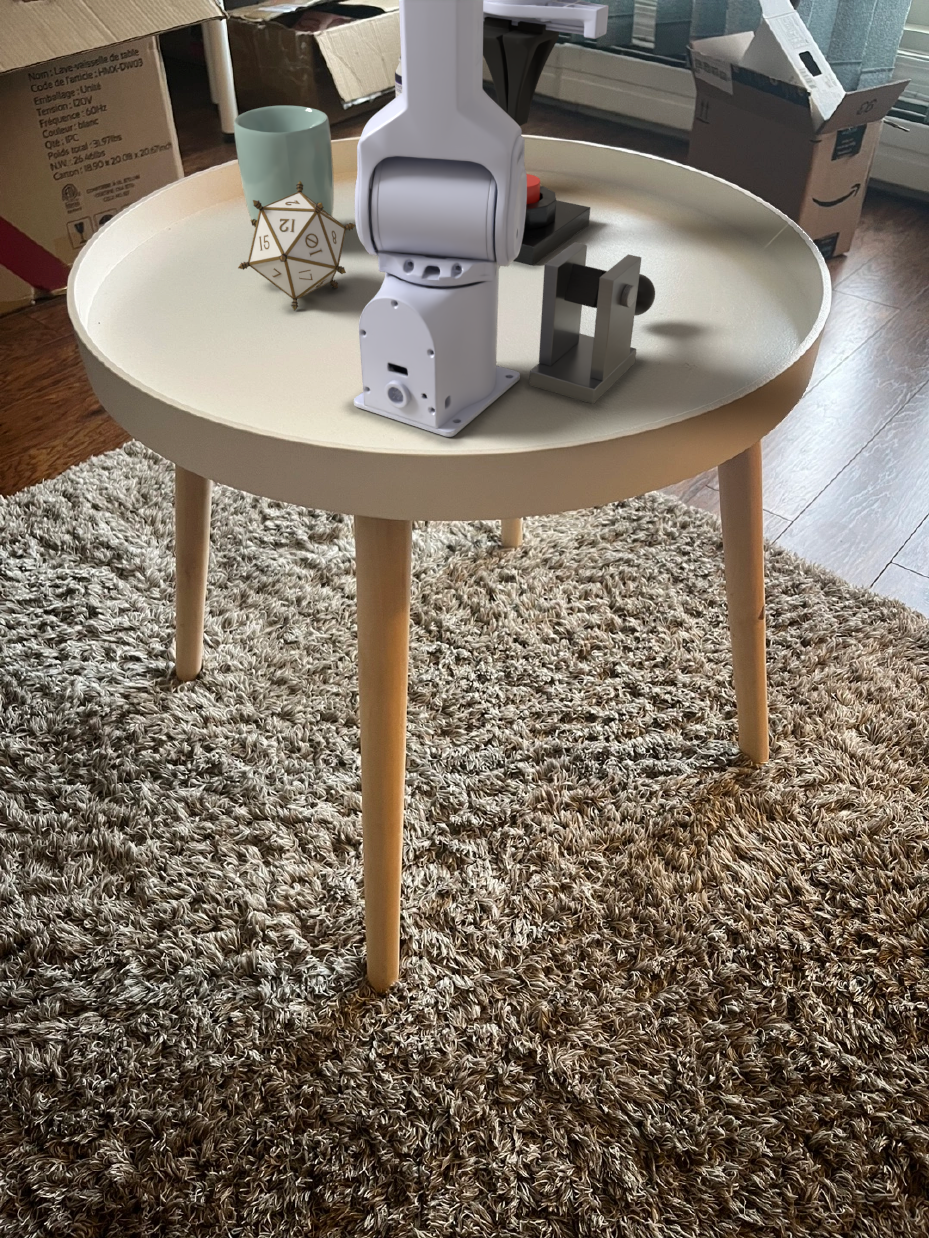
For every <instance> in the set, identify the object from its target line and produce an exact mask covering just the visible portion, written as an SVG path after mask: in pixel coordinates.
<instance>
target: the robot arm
mask: <svg viewBox="0 0 929 1238" xmlns="http://www.w3.org/2000/svg"><path fill="white" fill-rule="evenodd" d="M609 7H610V6H609V5H607V4H600V3H594V2H589V1H585V0H398V12H399V13H398V14H399V36H400V37H399V39H400V41H399V43H400V56H401V69H402V93H401V94H400V95H398V96H397V97H396V96H395V98H394V99H392V100H391V101H389V102H388V103H387V104H386V105H385V106H383V107H382V108H380V110H379V111H377V112H376V113H375V114H374V115H372V117H370V119H369V120H368V121H367V122H366V124H365V126H363V127H364V128H363V130H362V133H361V135H360V137H359V139H358V142H357V145H356V155H357V159H356V160H357V162H356V164H357V166H356V167H357V168H356V170H357V173H356V181H355V187H354V221H355V224H356V225H355V228H356V229H355V230H356V232H357V236H358V239H359V241H360V243H361V244H362V245H363V247H364V249H365V251H366V252H367V253H368V254H369V255H370V256H375V257H376V256H377V262H378V263H377V264H378V265H377V266H378V272H380V273H384V279H383V280H382V283H381V286H380V289H378V291H377V292H376V294H375V295H374V296H373V297H372V298H371V300H370V301H369V302H368V303H367V304H366V305H365V307H364V308H363V309H362V312H361V314H360V317H359V321H358V340H359V341H358V342H359V354H360V355H359V356H360V366H361V367H360V368H361V381H362V392H361V393H359V394H358V395H357V396H355V397H354V398H353V405H354V407H356V408H359V409H362V410H365V411H367V412H370V413H373V414H375V415H380V416H382V417H385V418H389V419H392V420H395V421H396V422H397V421H398V422H400V423H404V424H407V425H409V426H413V427H416V428H419V429H421V430H425V431H427V432H431V433H434V434H438V435H440V436H442V437H446V438H452V437H454V436H456V435H457V434H458V433H459V432H461V431H462V430H463V429H464V428H465V427H466V426H467V425H468V424H470V423H471V422H472V421H473V420H475V419H476V418H477V417H478V416H479V415H480V414H481V413H482V412H484V411H485V410H486V409H487V408H488V407H490V406H491V405H492V404H493V403H494V402H495V401H497V400H498V399H499V398H500V397H501V396H502V395H503V394H505V393H506V392H507V391H508V390H509V389H510V388H512V387H513V386H514V385H515V384H516V383H517V382H519V381H520V379H521V374H520V372H519V371H517V370H513V369H511V368H508V367H503V366H501V365H497V357H498V354H497V353H498V323H499V322H498V319H499V318H498V317H499V283H500V282H499V281H500V268H501V267H504V268H505V267H506V268H507V267H509V266H510V265H511V264H512V263H513V262H514V261H513V260H514V259H515V258H517V256H518V254H519V252H520V248H521V244H522V238H523V232H524V224H525V215H526V202H527V176H526V174H527V170H526V167H525V145H526V144H525V143H526V142H525V138H524V137H523V135H522V134H523V133H522V131H523V130H522V128H521V126H523V125H525V124H527V123H528V120H529V116H530V111H531V107H532V103H533V100H534V95H535V92H536V89H537V87H538V83H539V81H540V78H541V75H542V73H543V70H544V68H545V66H546V63H547V62H548V59H549V57H550V55H551V53H552V51H553V50H554V47H555V45H556V44H557V42H558V40H559V37H560V32H561V33H566V34H575V35H581V36H583V37H584V38H586V39H593V40H595V39H598V38H600V37H603V36H605V35H607V29H608V19H609ZM484 60H485V64H486V65H487V68H488V70H489V73H490V76H491V78H492V83H493V86H494V90H495V94H496V98H497V102H495V100H494V99H492V98H491V97H490V96H489V94H488V93H487V92H486V91H485V90H484V88H483V74H484V73H483V72H484V71H483V70H484V69H483V66H484V64H483V63H484Z"/></svg>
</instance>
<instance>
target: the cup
mask: <svg viewBox="0 0 929 1238" xmlns="http://www.w3.org/2000/svg"><path fill="white" fill-rule="evenodd" d="M233 133H234V142H235V143H234V144H235V149H236V156H237V163H238V171H239V177H240V183H241V188H242V194H243V198H244V202H245V206H246V210H247V213H248V216H249V218H250V220H253V219H256V220H257V219H258V214H259V209H257V208H256V207H255V206H254V203H253V200H256V201H259V202H260V203H261V205H262V206H266V205H268V204H271V203H273V202H275V201H278V200H280V199H282V198H285V197H287V196H290V195H292V194H294V193H297V189H296V188H297V186H296V185H297V184H298V183H299V181H301V182H302V184H303V190H302V193H303V194H304V195H306V196H307V197H308V198H310V199H311V200H312V201H313V202H315V203H316V204H317V203H322V205H323V207H324V208H323V210H325V211H326V212H327V213H328V214H330V215H331V216H332V217H333V215H334V209H335V208H334V205H335V175H334V160H333V146H332V145H333V144H332V136H331V135H332V134H331V126H330V120H329V117H328V115H327V114H326V113H325V112H323V111H322V110H319V109H315V108H312V107H307V106H300V105H272V106H271V105H270V106H263V107H259V108H254V109H251V110H248V111H246V112H243V113H241V114H239V115H238V116H237V117H236V118H235V119H234V122H233ZM255 228H256V227H254V229H255Z"/></svg>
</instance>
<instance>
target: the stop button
mask: <svg viewBox="0 0 929 1238" xmlns="http://www.w3.org/2000/svg"><path fill="white" fill-rule="evenodd" d="M526 176H527V202H526V204H531V203H536V202H538V201H539V199H540V186H541V179H540V178H539V177H538V176H536V175H535V174H530V173H526Z"/></svg>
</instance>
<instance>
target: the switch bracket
mask: <svg viewBox="0 0 929 1238" xmlns="http://www.w3.org/2000/svg"><path fill="white" fill-rule="evenodd" d="M587 251H588V244H585V243H579V242H577V241H576V242H572V243H571V244H570V245H568V246H567V247H565V248H564V249H563V250H562V251H560V252H559V253H557V254H556V255H555V256H553V257H552V258H550V259H549V260H548V261H547V262H545V263H544V267H543V283H542V284H543V285H542V301H541V315H540V316H541V317H540V319H541V320H540V335H539V350H538V351H539V353H538V363H537V364H536V365H535V366H534V367H533V368H532V369H531V370H529V384H528V385H529V386H531V387H534V388H538V389H540V390H545V391H548V392H551V393H555V394H558V395H561V396H565V397H568V398H571V399H575V400H578V401H581V402H585V403H589V404H591V405H592V404H593V405H594V404H595V403H596V402H597V401H598V400H599V399H600V398H601V397H602V396H603V395H604V394H605V393H606V392H607V391H609V389H610V388H612V386H613V385H615V383H617V381H618V380H619V379H620V378H621V377H622V376H623V375H624V374H625V373H627V371H629V369H631V367H633V365H634V364H635V363H636V357H637V348H635V347H632V338H633V331H634V330H633V329H634V323H635V322H634V321H635V316H634V315H635V307H636V299H637V291H638V283H639V275H640V274H641V267H642V257H641V256H637V255H633V254H627V255H626V256H624V257H623V258H622V259H621V260H619V261H618V262H617V263H616V264H614V265H613V266H612V267H610V268H609V269H608V270H606V271H607V272H606V273H605V274H603V275H602V276H601V277H600V281H599V291H598V301H597V308H596V311H595V312H596V313H595V324H594V333H593V336H590V335H587V334H583V333H581V322H582V310H583V305H581V304H577V303H573V302H569V301H565V300H564V299H565V295H566V291H567V286H568V282H569V278H570V274H571V270H572V266H573V263H575V264H579V265H584V266H587V265H586V264H587V263H586V262H587V254H588V253H587Z"/></svg>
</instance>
